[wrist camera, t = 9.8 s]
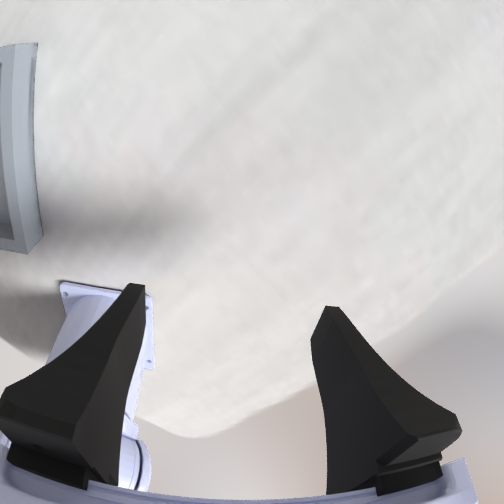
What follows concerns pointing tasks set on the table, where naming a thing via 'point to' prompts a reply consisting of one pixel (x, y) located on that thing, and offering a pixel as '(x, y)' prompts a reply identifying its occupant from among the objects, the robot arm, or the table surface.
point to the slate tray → (18, 150)
